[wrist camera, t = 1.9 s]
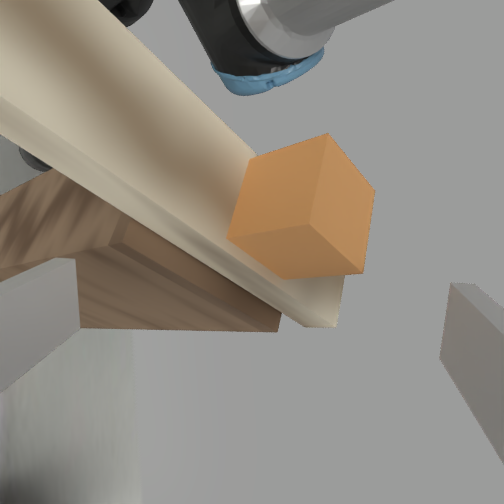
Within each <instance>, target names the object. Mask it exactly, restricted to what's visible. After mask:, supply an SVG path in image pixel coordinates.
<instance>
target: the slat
mask: <svg viewBox="0 0 504 504" xmlns="http://www.w3.org/2000/svg"><path fill="white" fill-rule="evenodd" d="M0 134H1V135H2V136H4V137H5V138H7V139H9V140H10V141H12V142H13V143H15V144H16V145H18V146H20V147H21V148H23V149H24V150H26V151H27V152H29V153H31V154H32V155H34V156H35V157H37V158H39V159H40V160H42V161H43V162H45V163H46V164H48V165H50V166H51V167H53V168H54V169H56V170H57V171H59V172H61V173H62V174H64V175H65V176H67V177H69V178H70V179H72V180H73V181H75V182H76V183H78V184H80V185H81V186H83V187H84V188H86V189H87V190H89V191H91V192H92V193H94V194H95V195H97V196H98V197H100V198H102V199H103V200H105V201H106V202H108V203H110V204H111V205H113V206H114V207H116V208H117V209H119V210H121V211H122V212H124V213H125V214H127V215H128V216H130V217H132V218H133V219H135V220H136V221H138V222H140V223H141V224H143V225H144V226H146V227H147V228H149V229H151V230H152V231H154V232H155V233H157V234H158V235H160V236H162V237H163V238H165V239H166V240H168V241H169V242H171V243H173V244H174V245H176V246H177V247H179V248H181V249H182V250H184V251H185V252H187V253H188V254H190V255H192V256H193V257H195V258H196V259H198V260H199V261H201V262H203V263H204V264H206V265H207V266H209V267H211V268H212V269H214V270H215V271H217V272H218V273H220V274H222V275H223V276H225V277H226V278H228V279H229V280H231V281H233V282H234V283H236V284H237V285H239V286H240V287H242V288H244V289H245V290H247V291H248V292H250V293H252V294H253V295H255V296H256V297H258V298H259V299H261V300H263V301H264V302H266V303H267V304H269V305H270V306H272V307H274V308H275V309H277V310H278V311H280V312H281V313H283V314H285V315H286V316H288V317H290V318H291V319H293V320H294V321H296V322H297V323H299V324H300V325H302V326H304V327H312V328H313V327H314V328H316V327H317V328H336V327H337V320H338V314H339V308H340V302H341V296H342V290H343V284H344V278H345V275H339V276H326V277H313V278H300V279H288V280H283V279H282V278H280V277H279V276H278V275H276V274H275V273H273V272H272V271H271V270H269V269H268V268H266V267H265V266H264V265H262V264H261V263H260V262H258V261H257V260H255V259H254V258H253V257H251V256H250V255H248V254H247V253H246V252H244V251H243V250H241V249H240V248H239V247H237V246H236V245H235V244H233V243H232V242H230V241H229V240H228V239H226V237H227V233H228V230H229V227H230V223H231V220H232V217H233V213H234V210H235V206H236V203H237V200H238V196H239V193H240V190H241V186H242V183H243V179H244V176H245V173H246V169H247V166H248V162H249V159H251V158H254V157H257V156H258V155H257V154H256V153H255V152H254V151H253V150H252V149H251V148H250V147H249V146H248V145H247V144H246V143H245V142H244V141H243V140H242V139H241V138H239V137H238V136H237V135H236V134H235V133H234V132H233V131H232V130H231V129H230V128H229V127H228V126H227V125H226V124H225V123H224V122H223V121H222V120H221V119H220V118H219V117H218V116H217V115H216V114H215V113H214V112H213V111H212V110H211V109H210V108H209V107H207V106H206V104H204V103H203V102H202V101H201V100H200V99H199V98H198V97H197V96H196V95H195V94H194V93H193V92H192V91H191V90H190V89H189V88H188V87H187V86H186V85H185V84H184V83H183V82H182V81H181V80H180V79H179V78H178V77H177V76H176V75H175V74H173V72H171V71H170V70H169V69H168V68H167V67H166V66H165V65H164V64H163V63H162V62H161V61H160V60H159V59H158V58H157V57H156V56H155V55H154V54H153V53H152V52H151V51H150V50H149V49H148V48H147V47H146V46H145V45H144V44H143V43H142V42H141V41H139V39H137V38H136V37H135V36H134V35H133V34H132V33H131V32H130V31H129V30H128V29H127V28H126V27H125V26H124V25H123V24H122V23H121V22H120V21H119V20H118V19H117V18H116V17H115V16H114V15H113V14H112V13H111V12H110V11H109V10H108V9H107V8H106V7H105V6H104V5H102V4H101V3H100V2H99V1H98V0H0Z"/></svg>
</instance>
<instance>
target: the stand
mask: <svg viewBox="0 0 504 504" xmlns="http://www.w3.org/2000/svg"><path fill="white" fill-rule="evenodd" d="M54 258H70V259H75V263H76V276H77V290H78V303H79V317H80V328H102V329H147V330H192V331H237V332H242V331H243V332H278V328H279V323H280V318H281V314H282V313H281V312H280V311H278V310H277V309H275V308H274V307H272V306H270V305H269V304H267V303H266V302H264V301H263V300H261V299H259V298H258V297H256V296H255V295H253V294H252V293H250V292H248V291H247V290H245V289H244V288H242V287H240V286H239V285H237V284H236V283H234V282H233V281H231V280H229V279H228V278H226V277H225V276H223V275H222V274H220V273H218V272H217V271H215V270H214V269H212V268H211V267H209V266H207V265H206V264H204V263H203V262H201V261H199V260H198V259H196V258H195V257H193V256H192V255H190V254H188V253H187V252H185V251H184V250H182V249H181V248H179V247H177V246H176V245H174V244H173V243H171V242H169V241H168V240H166V239H165V238H163V237H162V236H160V235H158V234H157V233H155V232H154V231H152V230H151V229H149V228H147V227H146V226H144V225H143V224H141V223H140V222H138V221H136V220H135V219H133V218H132V217H130V216H128V215H127V214H125V213H124V212H122V211H121V210H119V209H117V208H116V207H114V206H113V205H111V204H110V203H108V202H106V201H105V200H103V199H102V198H100V197H98V196H97V195H95V194H94V193H92V192H91V191H89V190H87V189H86V188H84V187H83V186H81V185H80V184H78V183H76V182H75V181H73V180H72V179H70V178H69V177H67V176H65V175H64V174H62V173H61V172H59V171H57V170H56V169H54V168H53V169H51V170H49V171H47V172H45V173H43V174H41V175H39V176H37V177H35V178H33V179H31V180H29V181H27V182H25V183H24V184H22V185H20V186H18V187H16V188H14V189H12V190H10V191H8V192H6V193H4V194H2V195H0V282H2V281H4V280H7V279H9V278H11V277H13V276H16V275H18V274H20V273H22V272H24V271H27V270H29V269H31V268H33V267H36V266H38V265H40V264H42V263H45V262H47V261H49V260H51V259H54Z"/></svg>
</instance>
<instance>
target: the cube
mask: <svg viewBox="0 0 504 504" xmlns="http://www.w3.org/2000/svg"><path fill="white" fill-rule="evenodd" d="M374 195H375V190H374V189H373V188H372V186H371V185H370V184H369V183H368V181H367V180H366V179H365V178H364V177H363V175H362V174H361V173H360V172H359V170H358V169H357V168H356V167H355V165H354V164H353V163H352V162H351V160H350V159H349V158H348V157H347V156H346V154H345V153H344V152H343V151H342V149H341V148H340V147H339V146H338V145H337V143H336V142H335V141H334V140H333V139H332V137H331V136H330V135H329V133H327V134H324V135H321V136H318V137H315V138H311V139H308V140H306V141H302V142H299V143H296V144H293V145H290V146H287V147H284V148H281V149H278V150H275V151H273V152H269V153H266V154H263V155H260V156H257V157H254V158H251V159H249V162H248V166H247V169H246V173H245V176H244V179H243V183H242V186H241V190H240V193H239V196H238V200H237V203H236V206H235V210H234V213H233V217H232V220H231V223H230V227H229V230H228V233H227V237H226V239H228V240H229V241H230V242H232V243H233V244H235V245H236V246H237V247H239V248H240V249H241V250H243V251H244V252H246V253H247V254H248V255H250V256H251V257H253V258H254V259H255V260H257V261H258V262H260V263H261V264H262V265H264V266H265V267H266V268H268V269H269V270H271V271H272V272H273V273H275V274H276V275H278V276H279V277H280V278H282V279H283V280H288V279H300V278H313V277H326V276H339V275H351V274H363V271H364V264H365V257H366V250H367V243H368V237H369V230H370V222H371V215H372V209H373V202H374Z"/></svg>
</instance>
